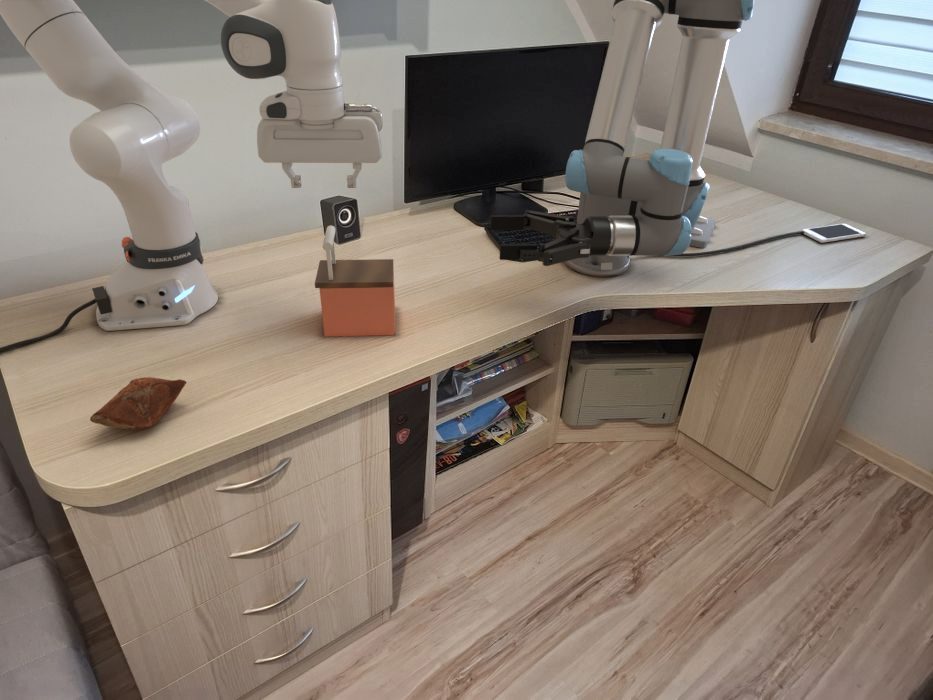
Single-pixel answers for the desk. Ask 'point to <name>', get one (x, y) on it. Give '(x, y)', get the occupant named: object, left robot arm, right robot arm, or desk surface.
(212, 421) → the desk surface
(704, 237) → the light switch
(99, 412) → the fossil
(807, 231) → the smartphone
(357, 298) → the chest
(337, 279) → the lid
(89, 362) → the desk surface
